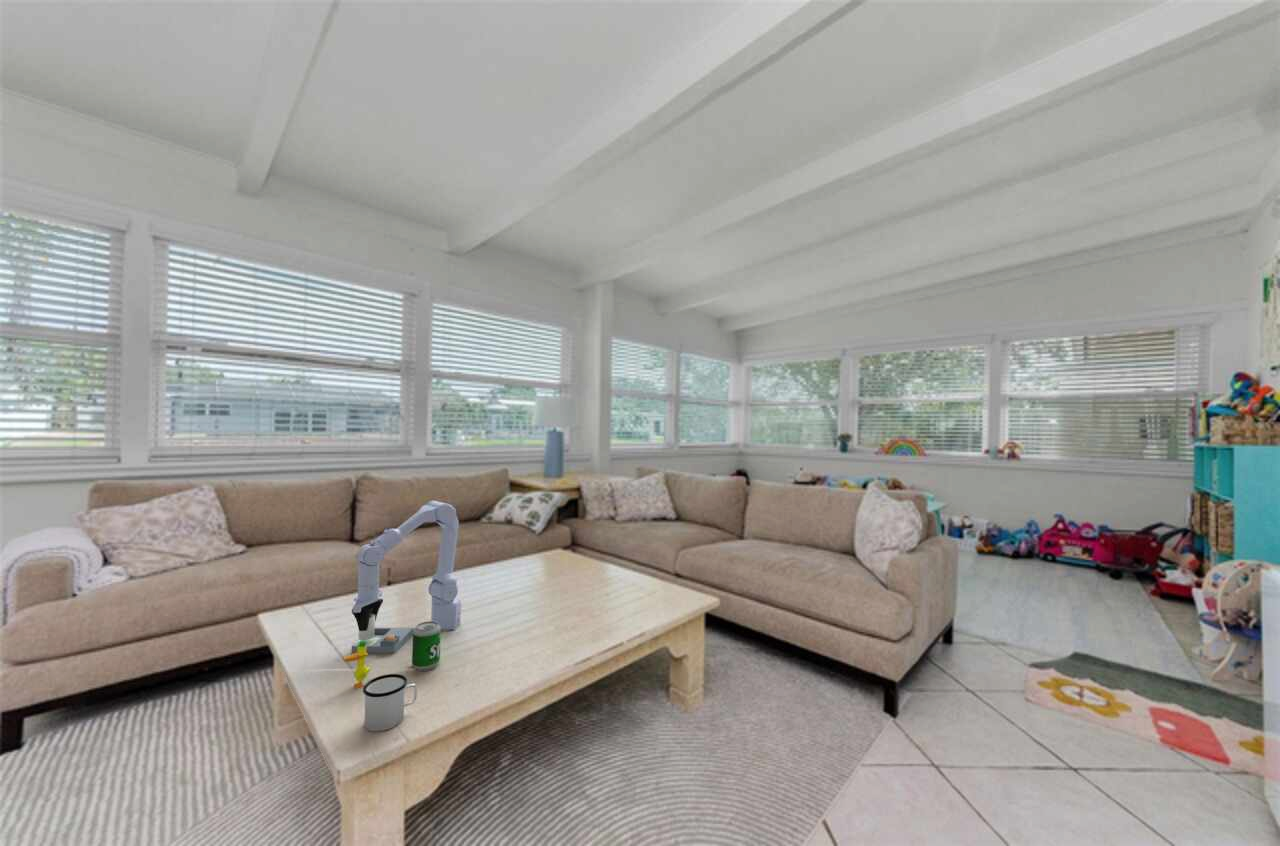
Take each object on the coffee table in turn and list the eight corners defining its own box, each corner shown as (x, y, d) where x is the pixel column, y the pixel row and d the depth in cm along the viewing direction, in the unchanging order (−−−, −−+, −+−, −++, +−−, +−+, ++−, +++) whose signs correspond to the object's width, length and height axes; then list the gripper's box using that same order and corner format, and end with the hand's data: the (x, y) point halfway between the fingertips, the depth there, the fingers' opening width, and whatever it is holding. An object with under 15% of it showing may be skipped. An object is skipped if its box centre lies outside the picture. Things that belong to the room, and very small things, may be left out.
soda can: (422, 675, 137) (423, 632, 137) (406, 667, 141) (407, 626, 141) (445, 664, 144) (446, 624, 144) (429, 657, 148) (430, 618, 148)
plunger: (396, 641, 152) (396, 634, 152) (392, 644, 150) (392, 638, 150) (387, 641, 152) (387, 634, 152) (383, 644, 150) (383, 638, 150)
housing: (413, 634, 163) (413, 622, 163) (395, 654, 149) (395, 641, 149) (373, 634, 162) (373, 622, 162) (351, 654, 148) (351, 641, 148)
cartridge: (370, 632, 154) (371, 610, 154) (377, 636, 152) (378, 614, 152) (355, 637, 151) (356, 615, 151) (362, 641, 148) (363, 618, 148)
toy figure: (344, 693, 127) (346, 647, 127) (341, 687, 129) (343, 643, 130) (373, 684, 131) (374, 640, 132) (369, 679, 134) (371, 636, 134)
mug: (368, 739, 109) (369, 699, 109) (356, 720, 116) (357, 682, 116) (422, 718, 117) (424, 680, 117) (408, 701, 124) (410, 666, 124)
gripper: (366, 576, 159) (365, 617, 158) (342, 591, 144) (341, 637, 144) (389, 576, 159) (387, 618, 159) (367, 591, 145) (365, 637, 144)
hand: (367, 627), depth 151 cm, fingers closed on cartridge, 4 cm apart
